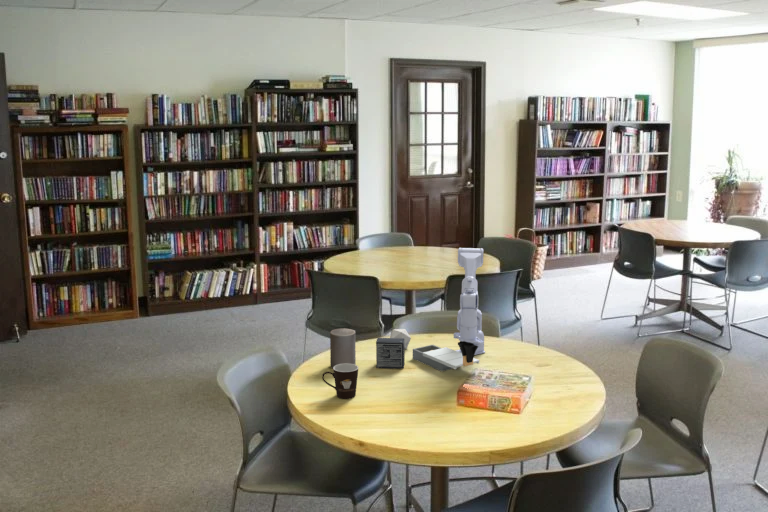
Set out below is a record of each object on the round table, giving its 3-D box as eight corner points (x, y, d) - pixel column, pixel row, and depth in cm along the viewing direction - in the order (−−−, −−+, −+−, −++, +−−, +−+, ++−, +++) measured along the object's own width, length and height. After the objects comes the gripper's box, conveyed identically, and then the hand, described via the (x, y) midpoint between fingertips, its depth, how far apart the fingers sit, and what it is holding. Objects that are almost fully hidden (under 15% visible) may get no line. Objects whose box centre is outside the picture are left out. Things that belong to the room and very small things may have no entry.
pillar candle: (325, 365, 288) (324, 327, 285) (346, 360, 294) (346, 323, 291) (339, 372, 280) (339, 333, 278) (361, 367, 286) (360, 329, 283)
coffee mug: (362, 392, 260) (362, 365, 258) (353, 401, 252) (353, 373, 250) (331, 388, 264) (330, 361, 262) (321, 397, 256) (320, 369, 254)
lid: (446, 350, 295) (446, 339, 294) (480, 363, 279) (481, 353, 278) (422, 355, 289) (422, 345, 288) (456, 369, 272) (457, 358, 272)
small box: (405, 363, 290) (405, 337, 288) (403, 369, 284) (403, 342, 282) (377, 362, 291) (377, 336, 289) (375, 368, 285) (375, 341, 283)
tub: (432, 354, 301) (432, 344, 301) (462, 366, 287) (462, 356, 286) (412, 358, 296) (412, 349, 295) (441, 371, 281) (441, 361, 281)
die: (405, 354, 304) (416, 332, 306) (387, 343, 303) (397, 322, 306) (401, 355, 312) (411, 334, 314) (383, 345, 311) (393, 324, 313)
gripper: (447, 322, 277) (446, 358, 279) (473, 332, 265) (472, 368, 268) (462, 319, 281) (461, 354, 283) (488, 328, 269) (487, 365, 272)
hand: (468, 361), depth 276 cm, fingers closed on lid
